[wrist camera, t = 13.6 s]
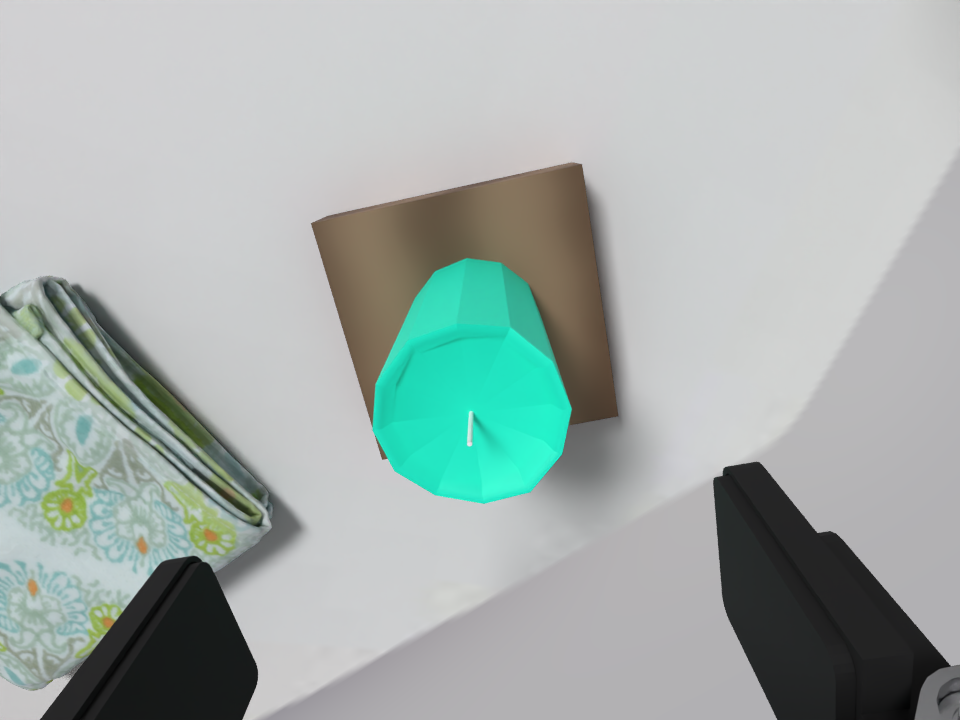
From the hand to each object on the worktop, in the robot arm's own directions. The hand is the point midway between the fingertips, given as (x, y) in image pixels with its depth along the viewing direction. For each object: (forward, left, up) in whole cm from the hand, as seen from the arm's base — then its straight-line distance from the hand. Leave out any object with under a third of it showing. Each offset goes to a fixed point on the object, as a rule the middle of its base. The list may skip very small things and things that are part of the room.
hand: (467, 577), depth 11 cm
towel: (+26, +6, -21) cm, 34 cm away
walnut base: (0, 0, -21) cm, 21 cm away
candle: (0, 0, -18) cm, 18 cm away
